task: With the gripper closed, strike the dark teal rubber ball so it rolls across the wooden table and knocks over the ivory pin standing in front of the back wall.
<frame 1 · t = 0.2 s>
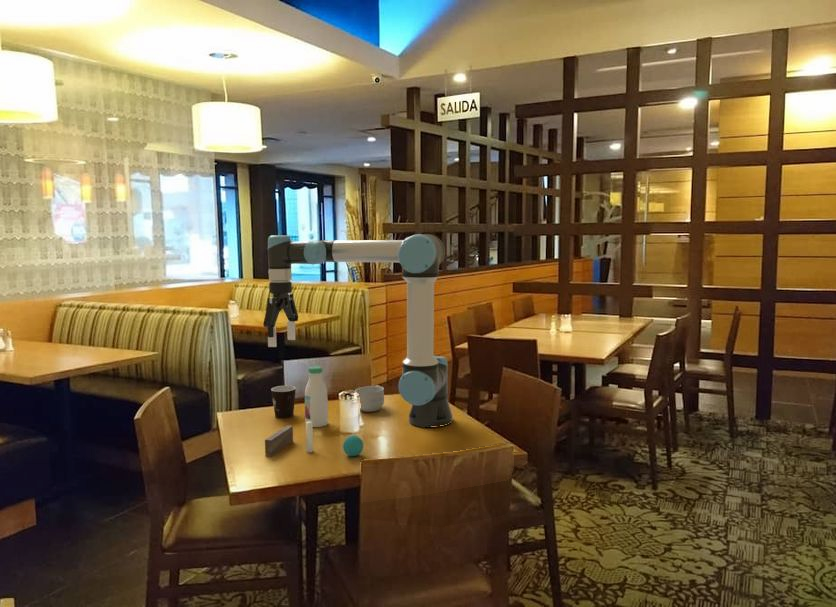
hand: (282, 343, 217), 28 cm above the table, tool pointing down, fingers open, 13 cm apart
ball: (353, 445, 187), on the table
pin: (309, 451, 192), on the table
milk bottle: (316, 425, 218), on the table
back wall: (279, 448, 194), on the table
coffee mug: (283, 417, 227), on the table
teacup: (372, 409, 237), on the table
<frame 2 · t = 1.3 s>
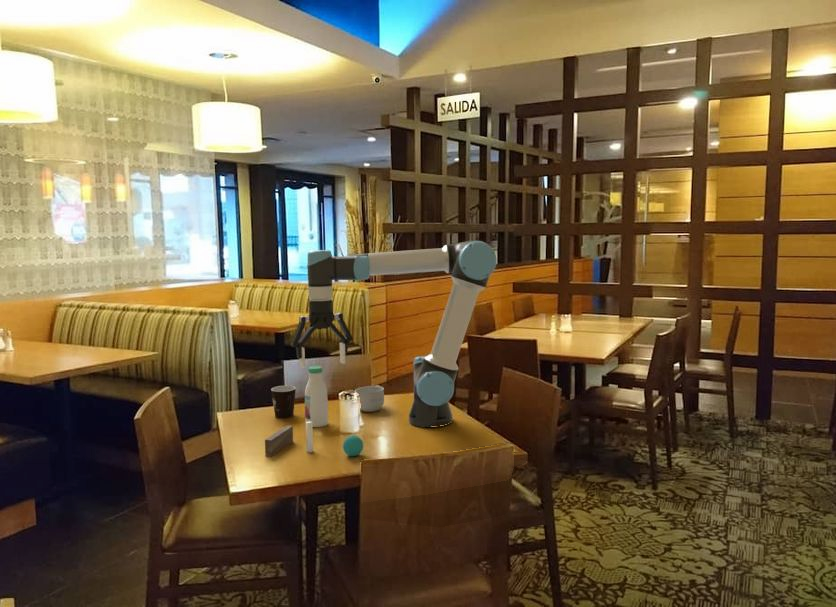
hand: (323, 365, 202), 23 cm above the table, tool pointing down, fingers open, 13 cm apart
nothing on the table moved.
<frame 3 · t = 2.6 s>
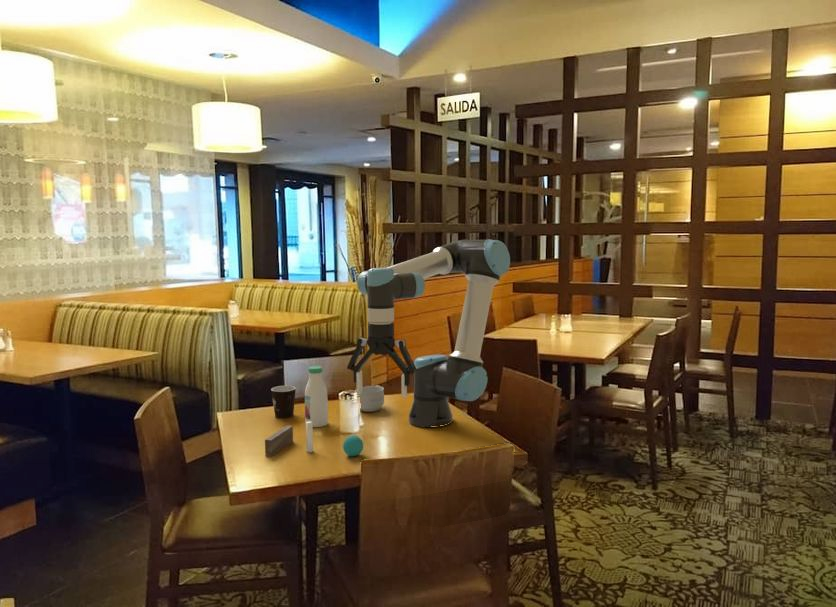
hand: (381, 395, 183), 19 cm above the table, tool pointing down, fingers open, 13 cm apart
nothing on the table moved.
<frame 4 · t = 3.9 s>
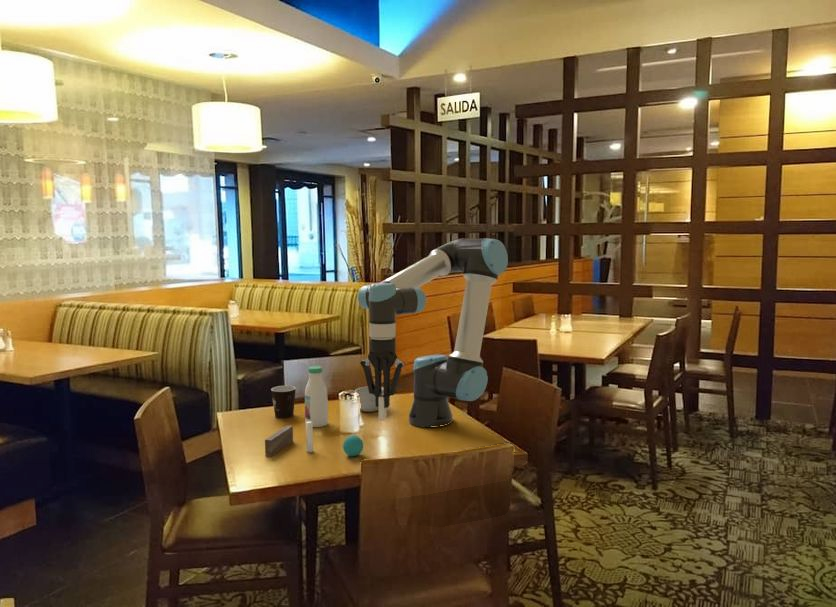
hand: (382, 418, 184), 12 cm above the table, tool pointing down, fingers closed
nothing on the table moved.
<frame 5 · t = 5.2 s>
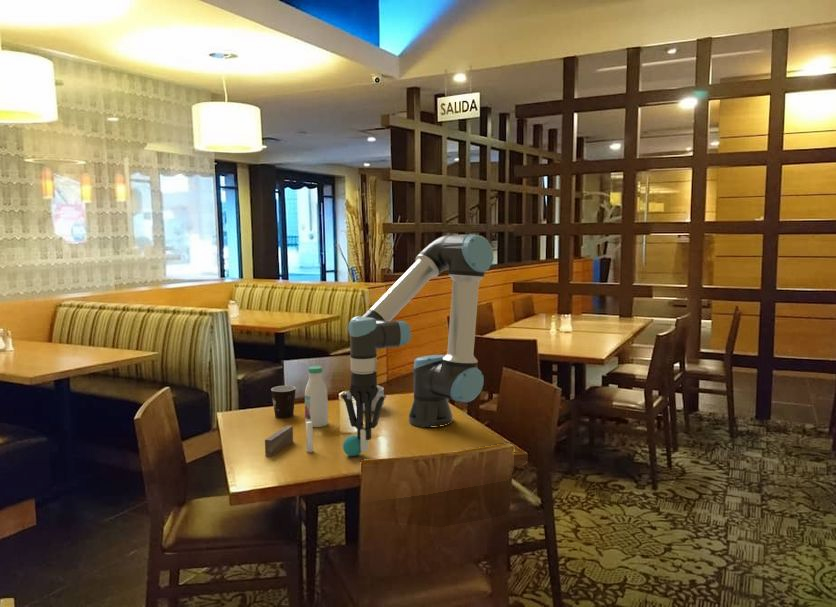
hand: (364, 450, 186), 2 cm above the table, tool pointing down, fingers closed
ball: (353, 445, 187), on the table, touching gripper
everything else where it was.
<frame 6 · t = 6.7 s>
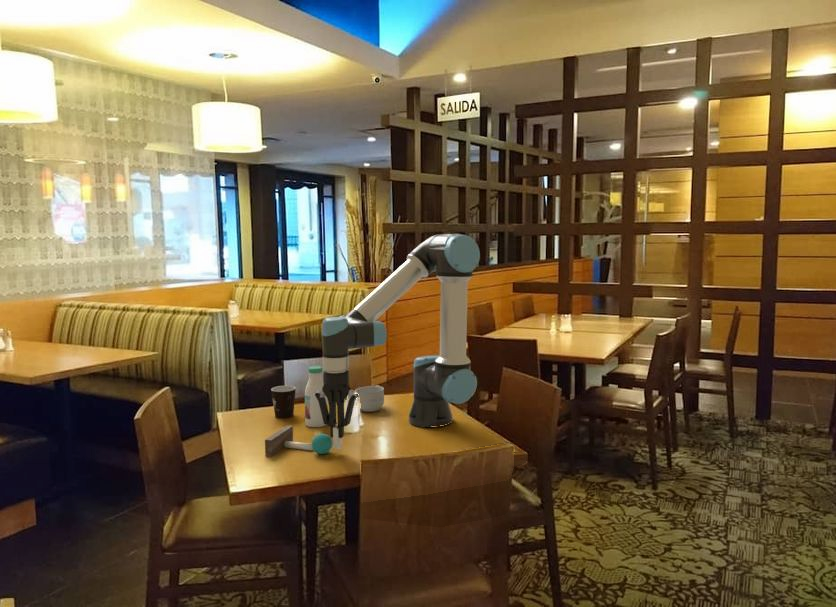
hand: (337, 447, 189), 2 cm above the table, tool pointing down, fingers closed
ball: (322, 443, 189), on the table
pin: (312, 447, 193), point 1 cm above the table, tilted 90°
everything else where it was.
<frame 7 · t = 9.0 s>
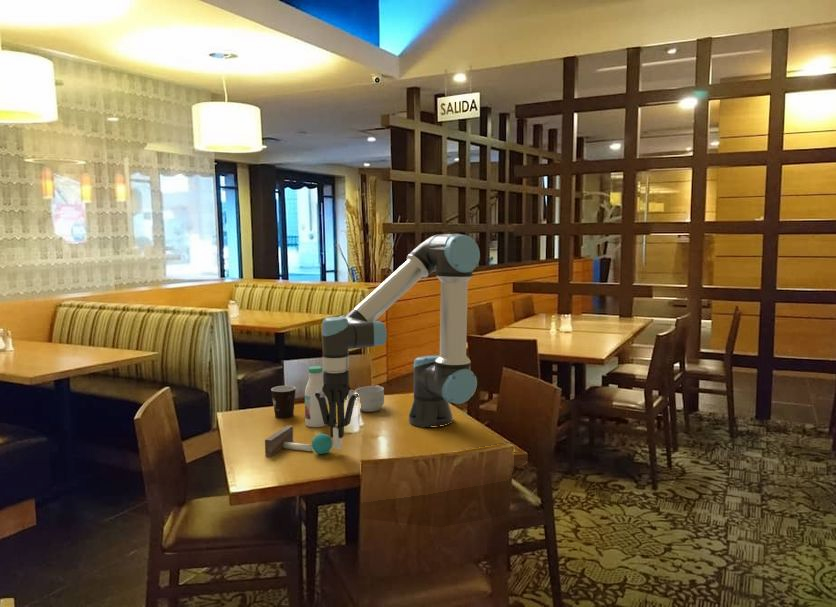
hand: (337, 447, 189), 2 cm above the table, tool pointing down, fingers closed
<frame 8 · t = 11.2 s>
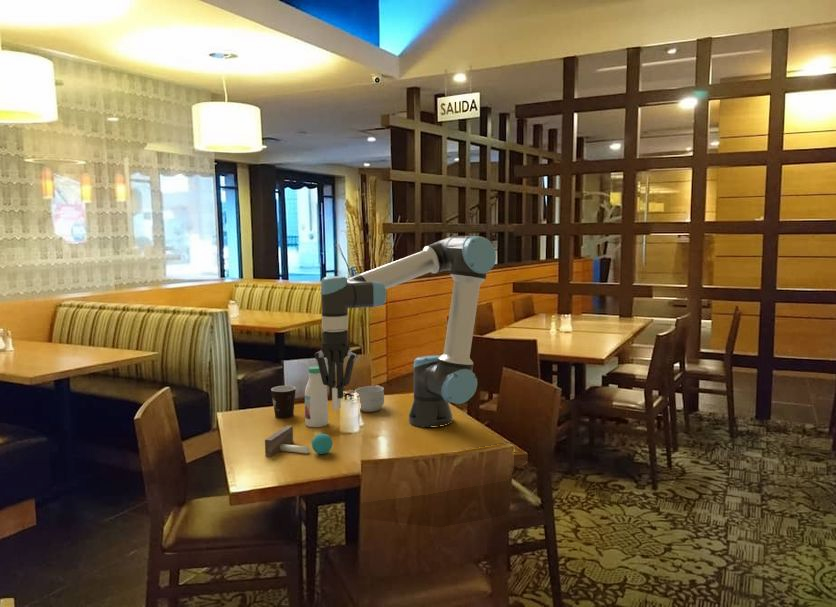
hand: (336, 408, 188), 14 cm above the table, tool pointing down, fingers closed
pin: (307, 450, 190), point 1 cm above the table, tilted 90°
everything else where it was.
at the end: pin tilted 90°; pin never touched the robot; ball moved 9.6 cm from its start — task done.
